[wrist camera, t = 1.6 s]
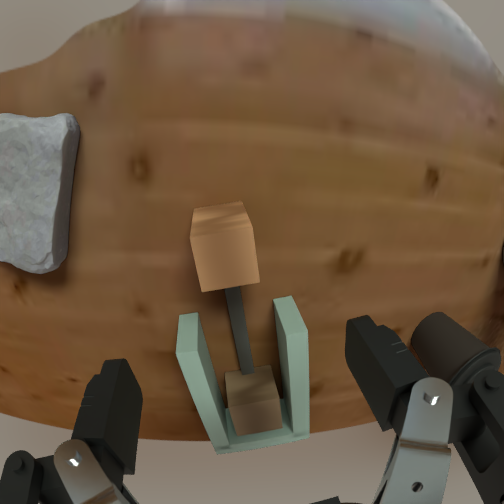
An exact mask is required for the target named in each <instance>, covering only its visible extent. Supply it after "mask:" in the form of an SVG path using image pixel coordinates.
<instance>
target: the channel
mask: <svg viewBox="0 0 504 504" xmlns="http://www.w3.org/2000/svg"><path fill="white" fill-rule="evenodd" d="M273 303H274V312H275V321H276V330H277V340H278V349H279V358H280V368H281V378H282V388H283V397H284V398H283V399H280V408H281V417H282V426H283V428H281V429H276V430H271V431H266V432H260V433H254V434H248V435H242V436H237V433H236V430H235V427H234V424H233V421H232V418H231V414H230V411H229V408H227V409H226V408H225V405H224V402H223V399H222V395H221V392H220V389H219V386H218V382H217V379H216V376H215V372H214V369H213V365H212V362H211V358H210V355H209V351H208V348H207V344H206V341H205V337H204V333H203V330H202V326H201V322H200V318H199V315H198V312H196V313H190V314H184V315H179V325H178V335H177V346H176V356H177V358H178V361H179V364H180V367H181V369H182V372H183V375H184V377H185V380H186V382H187V385H188V388H189V390H190V393H191V395H192V398H193V400H194V403H195V405H196V408H197V410H198V412H199V415H200V417H201V420H202V422H203V424H204V427H205V429H206V431H207V433H208V436H209V438H210V440H211V442H212V444H213V447H214V449H215V451H216V453H217V454H224V453H232V452H238V451H245V450H252V449H258V448H263V447H268V446H274V445H279V444H284V443H289V442H294V441H298V440H302V439H307V438H309V356H308V330H307V328H306V326H305V324H304V322H303V319H302V317H301V315H300V313H299V311H298V309H297V306H296V304H295V302H294V300H293V298H292V296H288V297H283V298H277V299H273Z"/></svg>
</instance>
